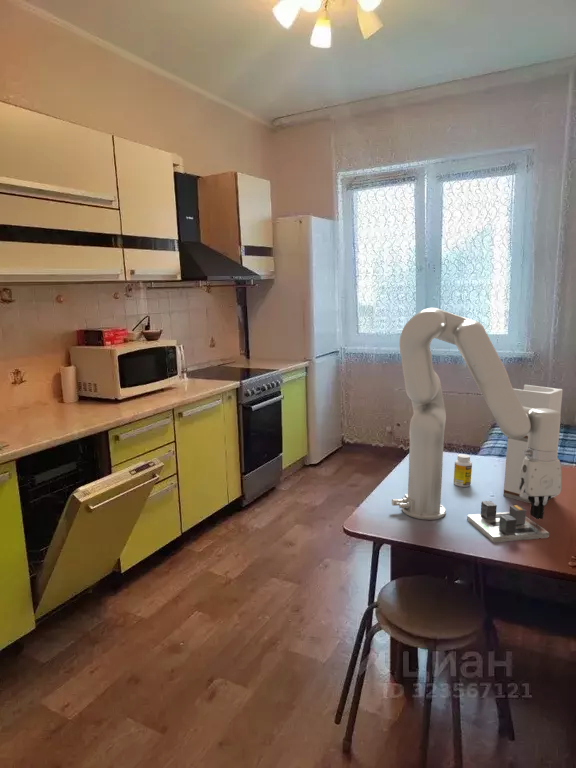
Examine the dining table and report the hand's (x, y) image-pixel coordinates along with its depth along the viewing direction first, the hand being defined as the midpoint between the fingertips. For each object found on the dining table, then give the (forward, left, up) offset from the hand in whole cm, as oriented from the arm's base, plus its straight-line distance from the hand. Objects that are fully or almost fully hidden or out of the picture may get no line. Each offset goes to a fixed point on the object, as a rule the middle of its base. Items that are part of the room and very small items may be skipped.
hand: (536, 517), depth 147 cm
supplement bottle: (-5, +34, -3) cm, 34 cm away
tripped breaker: (-6, 0, -1) cm, 6 cm away
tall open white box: (+11, +21, -3) cm, 24 cm away
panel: (-9, 0, -3) cm, 9 cm away
